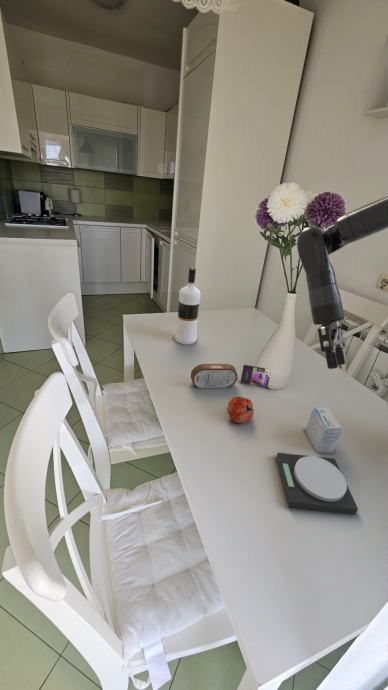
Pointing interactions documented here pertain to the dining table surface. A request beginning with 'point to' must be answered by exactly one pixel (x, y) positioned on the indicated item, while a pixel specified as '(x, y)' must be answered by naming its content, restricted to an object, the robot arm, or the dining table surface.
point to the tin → (214, 375)
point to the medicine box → (323, 430)
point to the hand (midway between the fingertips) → (337, 366)
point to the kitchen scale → (314, 484)
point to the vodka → (188, 311)
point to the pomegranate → (240, 409)
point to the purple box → (253, 375)
